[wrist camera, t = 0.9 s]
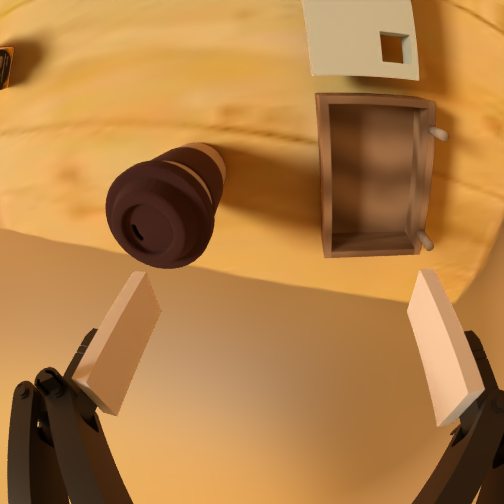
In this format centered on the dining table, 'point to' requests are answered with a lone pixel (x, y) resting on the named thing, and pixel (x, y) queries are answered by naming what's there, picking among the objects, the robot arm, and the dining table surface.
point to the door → (359, 37)
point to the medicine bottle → (5, 65)
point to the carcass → (375, 172)
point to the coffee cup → (167, 205)
